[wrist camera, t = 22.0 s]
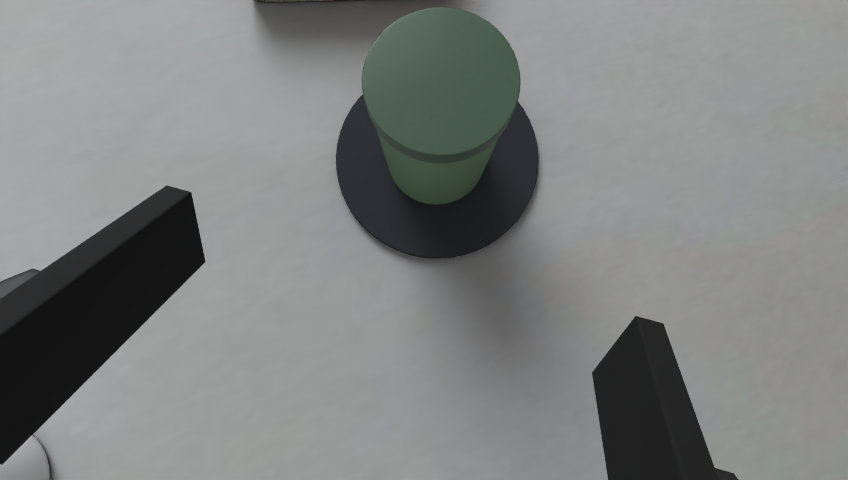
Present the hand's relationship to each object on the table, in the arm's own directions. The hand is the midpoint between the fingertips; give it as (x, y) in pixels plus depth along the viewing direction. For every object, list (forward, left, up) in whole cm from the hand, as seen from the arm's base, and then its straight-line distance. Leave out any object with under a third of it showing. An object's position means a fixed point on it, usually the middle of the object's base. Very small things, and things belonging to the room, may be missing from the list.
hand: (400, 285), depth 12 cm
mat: (-1, -10, -17) cm, 20 cm away
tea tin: (-1, -10, -17) cm, 19 cm away
